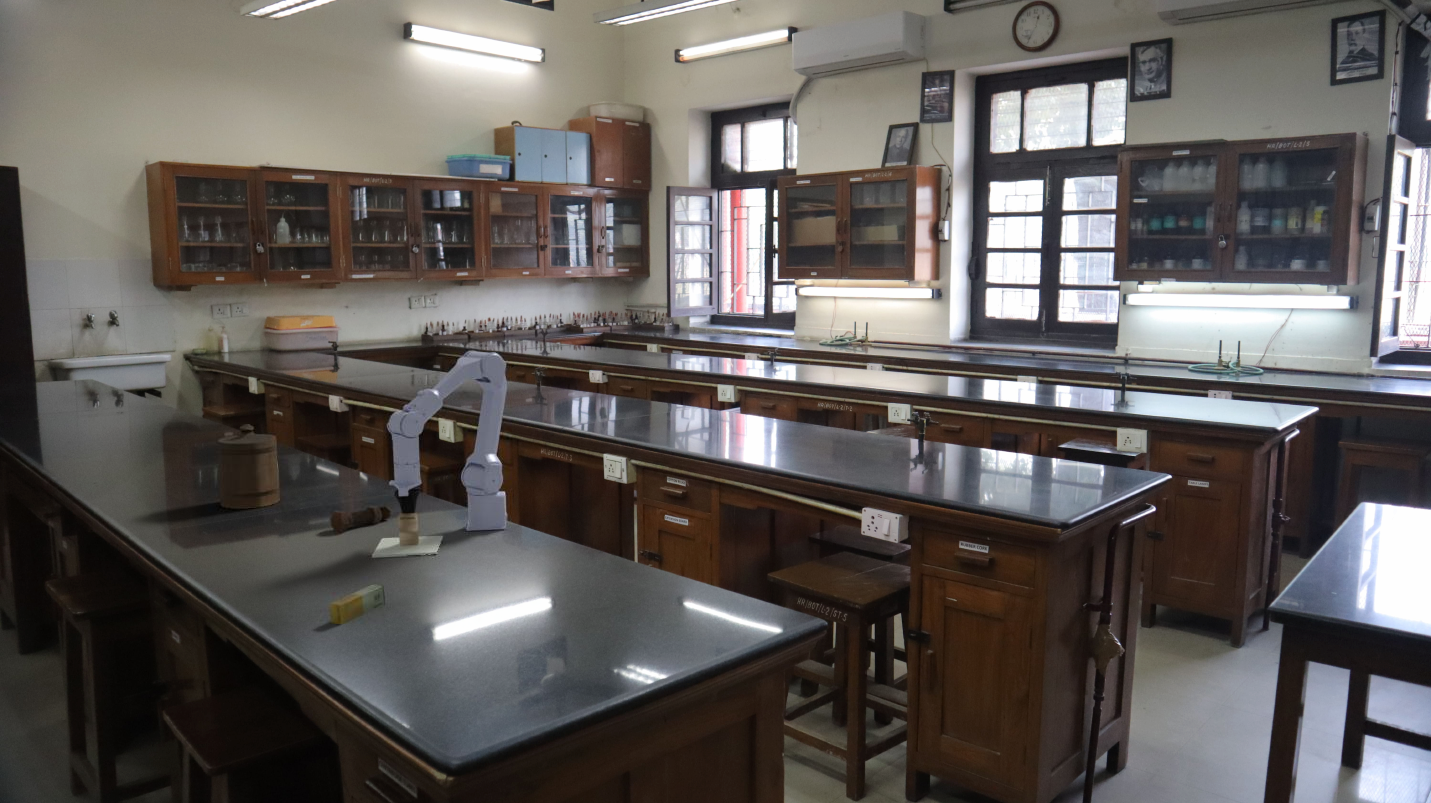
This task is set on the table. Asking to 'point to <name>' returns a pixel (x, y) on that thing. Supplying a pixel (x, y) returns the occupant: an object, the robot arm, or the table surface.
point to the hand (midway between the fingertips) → (409, 519)
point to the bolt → (358, 517)
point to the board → (407, 547)
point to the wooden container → (248, 470)
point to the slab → (408, 529)
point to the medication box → (357, 604)
